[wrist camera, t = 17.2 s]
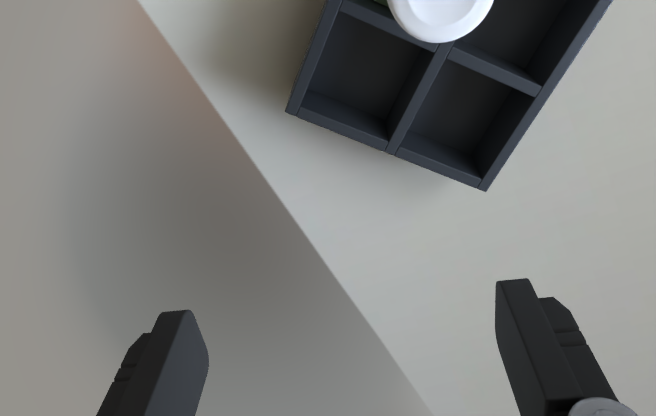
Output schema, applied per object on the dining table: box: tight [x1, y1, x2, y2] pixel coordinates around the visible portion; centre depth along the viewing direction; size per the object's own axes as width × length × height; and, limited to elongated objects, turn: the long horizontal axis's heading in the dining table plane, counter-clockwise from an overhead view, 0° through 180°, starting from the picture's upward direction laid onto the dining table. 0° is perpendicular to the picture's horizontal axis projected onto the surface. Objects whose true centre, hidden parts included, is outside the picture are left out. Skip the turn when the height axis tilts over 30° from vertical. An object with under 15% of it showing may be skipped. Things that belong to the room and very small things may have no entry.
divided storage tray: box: [285, 0, 613, 192], centre depth 34 cm, size 15×15×5 cm
